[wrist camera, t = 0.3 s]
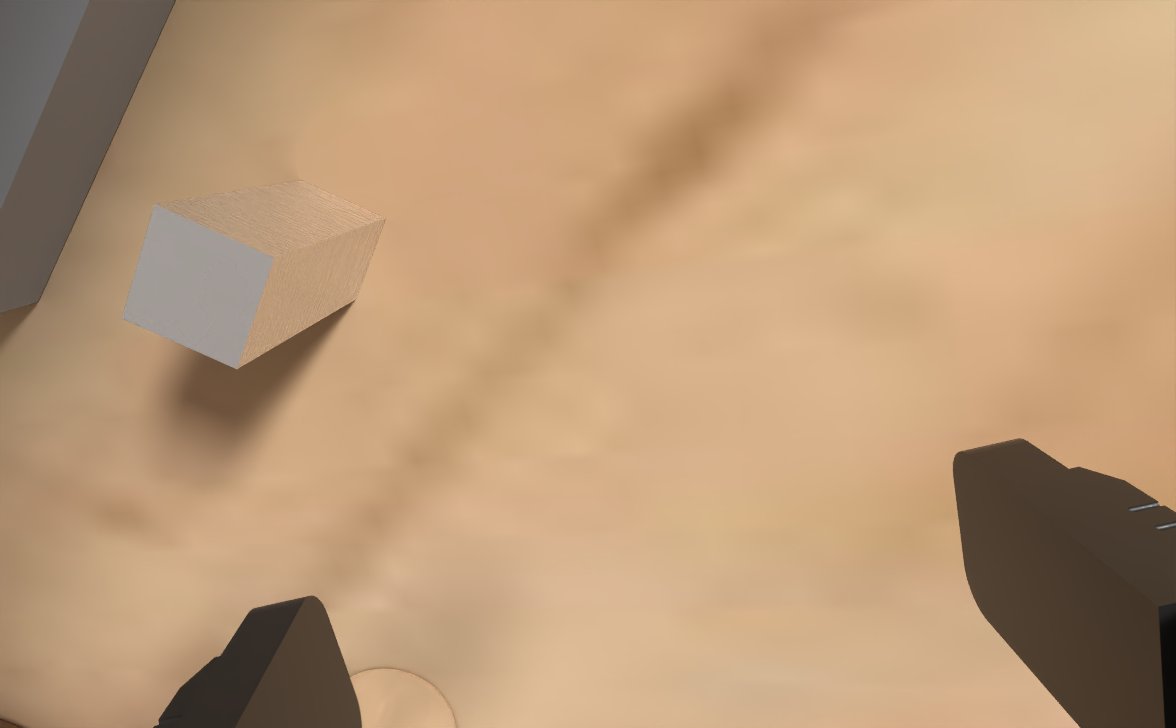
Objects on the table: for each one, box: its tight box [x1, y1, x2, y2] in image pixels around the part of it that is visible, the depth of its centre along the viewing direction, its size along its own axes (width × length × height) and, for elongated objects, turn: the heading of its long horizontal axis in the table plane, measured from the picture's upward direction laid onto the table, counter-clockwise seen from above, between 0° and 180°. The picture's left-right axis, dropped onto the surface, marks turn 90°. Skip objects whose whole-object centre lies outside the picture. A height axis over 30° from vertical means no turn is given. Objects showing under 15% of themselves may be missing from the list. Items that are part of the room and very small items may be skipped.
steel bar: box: [122, 180, 386, 369], centre depth 28 cm, size 4×4×10 cm
